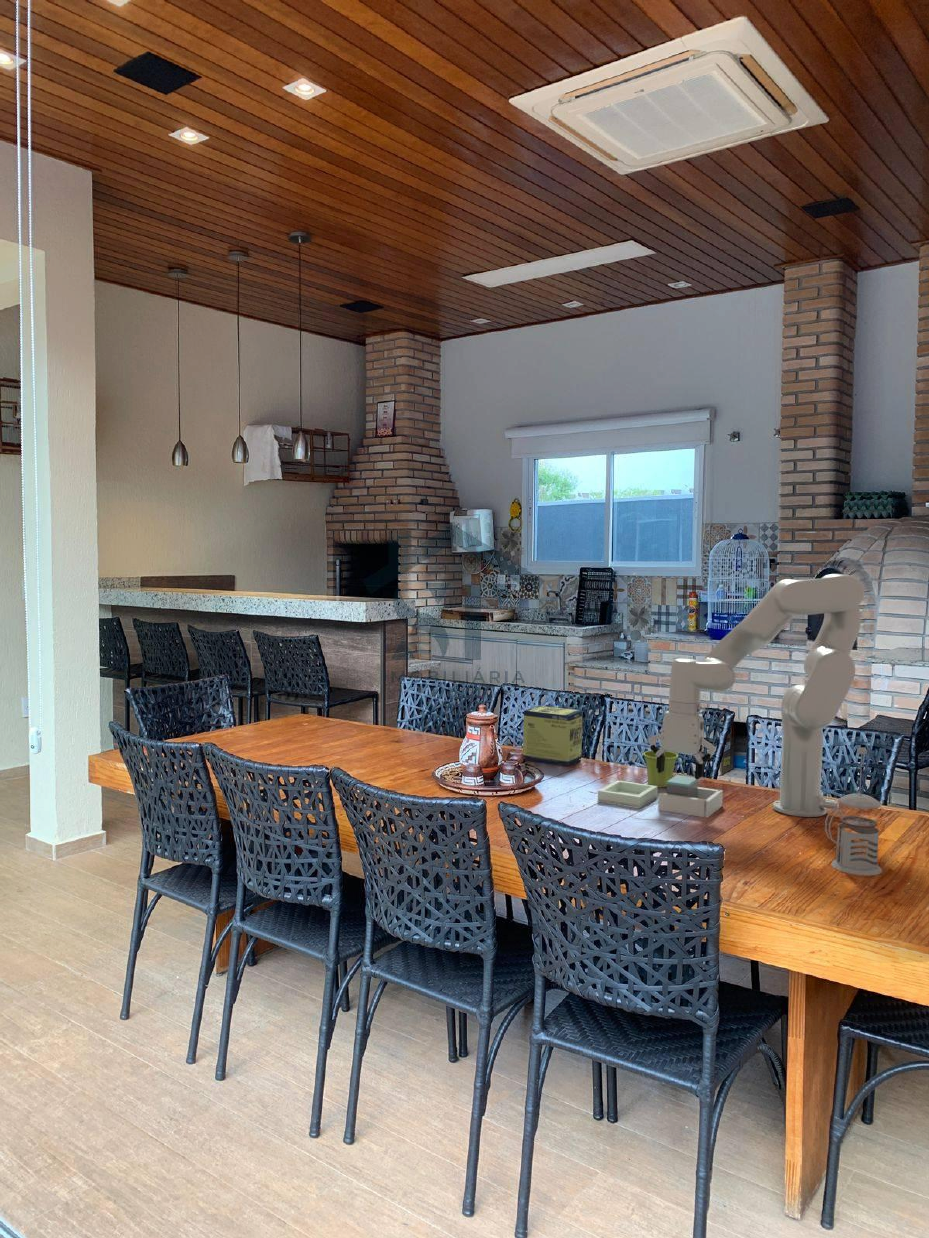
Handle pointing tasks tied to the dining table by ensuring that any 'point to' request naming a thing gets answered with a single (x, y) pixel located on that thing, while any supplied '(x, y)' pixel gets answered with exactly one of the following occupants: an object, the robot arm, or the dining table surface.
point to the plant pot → (652, 771)
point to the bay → (692, 802)
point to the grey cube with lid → (683, 786)
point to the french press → (857, 835)
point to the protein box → (552, 735)
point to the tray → (627, 794)
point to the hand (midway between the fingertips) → (679, 775)
